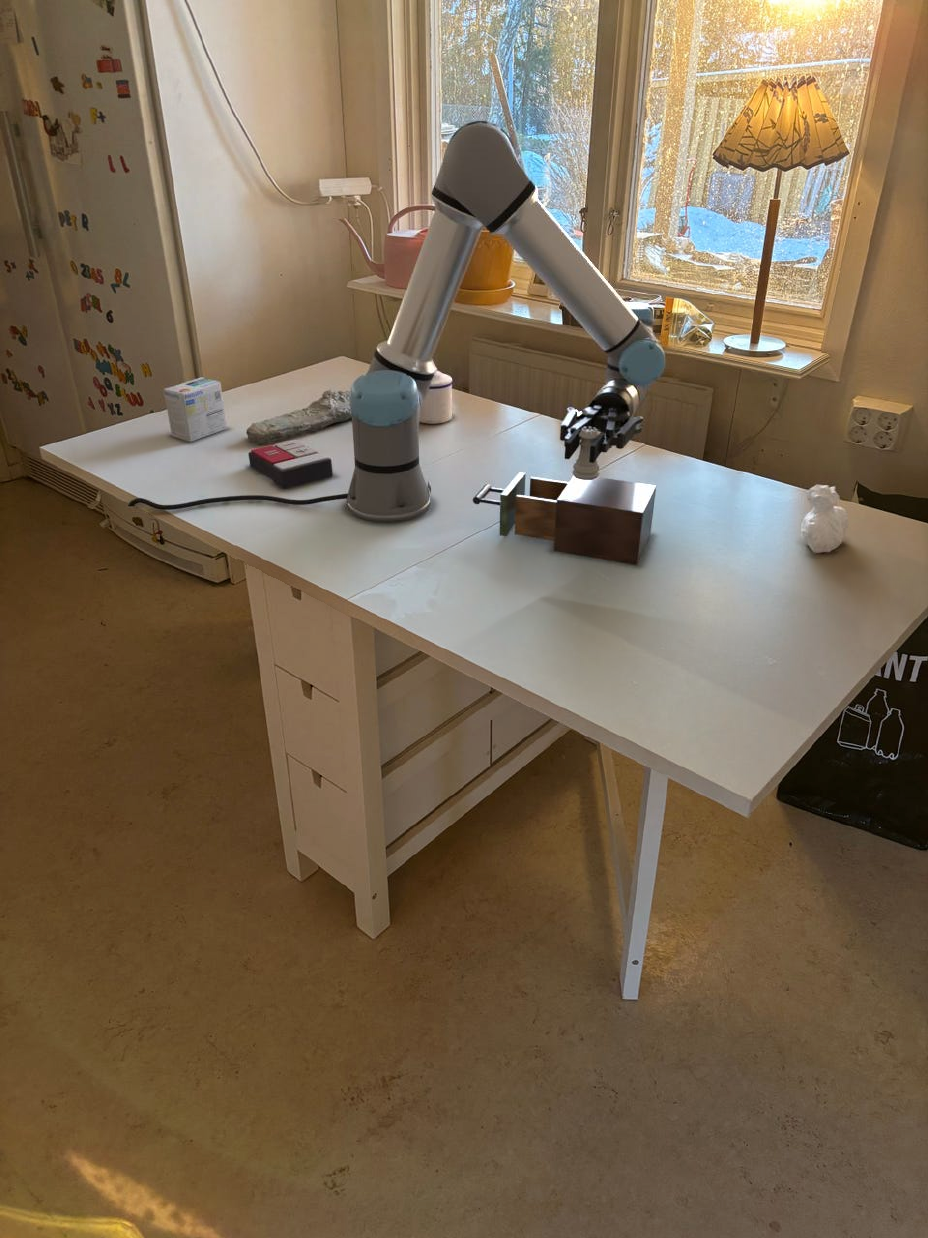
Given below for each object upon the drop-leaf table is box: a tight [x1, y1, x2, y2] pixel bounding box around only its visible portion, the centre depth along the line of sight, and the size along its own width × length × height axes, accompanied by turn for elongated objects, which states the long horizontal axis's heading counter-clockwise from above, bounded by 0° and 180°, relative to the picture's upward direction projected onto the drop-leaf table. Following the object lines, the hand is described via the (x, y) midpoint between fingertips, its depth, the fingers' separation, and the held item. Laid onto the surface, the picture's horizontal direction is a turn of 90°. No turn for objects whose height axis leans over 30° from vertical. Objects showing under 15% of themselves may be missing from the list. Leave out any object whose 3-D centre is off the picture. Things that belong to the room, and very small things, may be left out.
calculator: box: [247, 439, 334, 490], centre depth 180 cm, size 11×4×15 cm
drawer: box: [472, 471, 570, 542], centre depth 156 cm, size 19×10×8 cm, turn 69°
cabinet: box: [553, 475, 657, 566], centre depth 152 cm, size 14×12×9 cm
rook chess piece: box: [571, 426, 600, 480], centre depth 147 cm, size 4×4×8 cm
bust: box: [800, 484, 849, 554], centre depth 153 cm, size 12×8×11 cm
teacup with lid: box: [419, 367, 454, 425], centre depth 206 cm, size 12×9×12 cm
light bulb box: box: [163, 377, 228, 443], centre depth 197 cm, size 11×7×11 cm, turn 144°
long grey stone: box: [246, 389, 352, 446], centre depth 204 cm, size 35×5×10 cm
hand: (579, 452), depth 142 cm, fingers closed on rook chess piece, 3 cm apart
